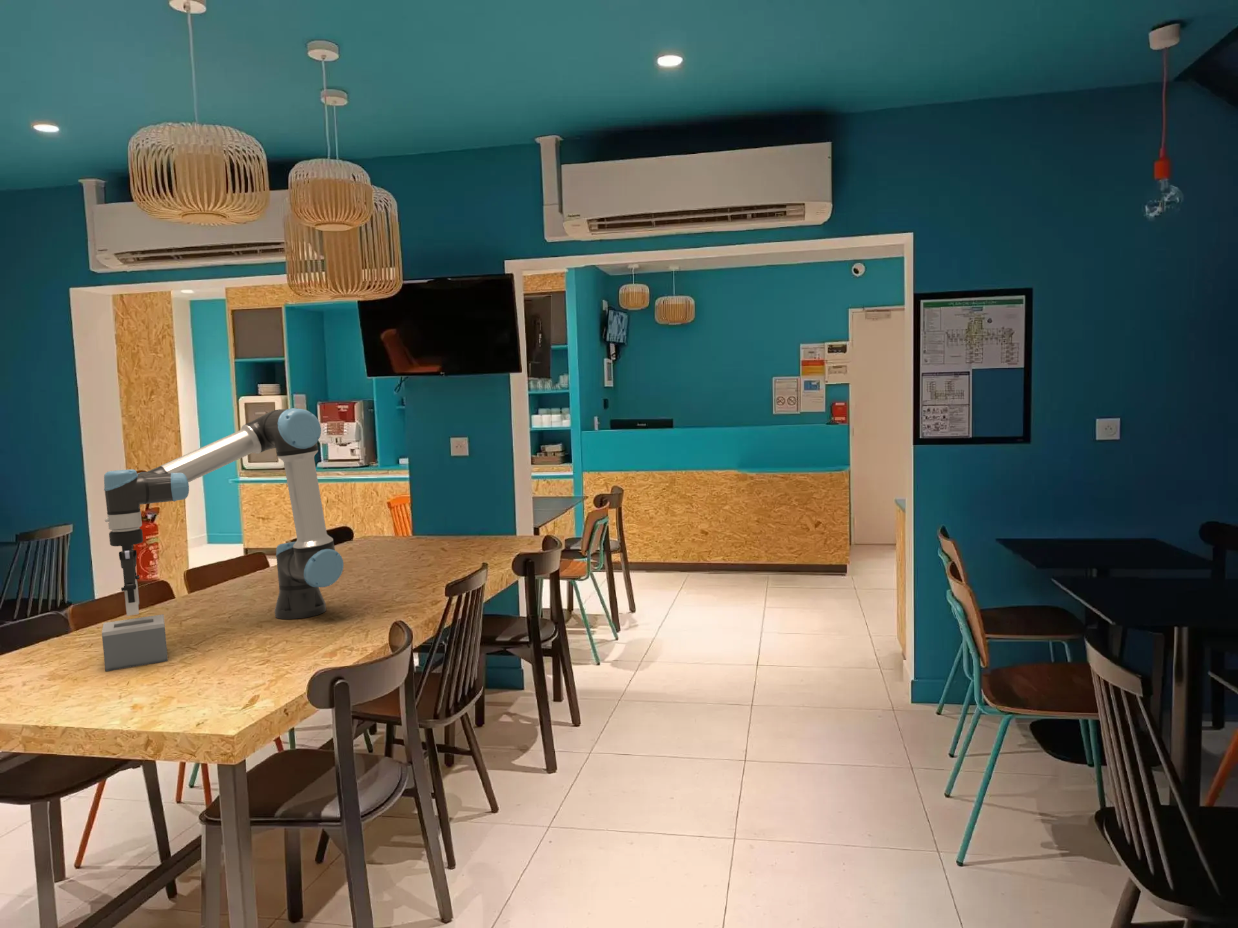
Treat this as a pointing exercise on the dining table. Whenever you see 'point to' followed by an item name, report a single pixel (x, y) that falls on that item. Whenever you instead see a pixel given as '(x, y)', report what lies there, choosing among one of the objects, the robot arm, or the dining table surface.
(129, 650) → the box with rectangular hole
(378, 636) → the dining table surface
